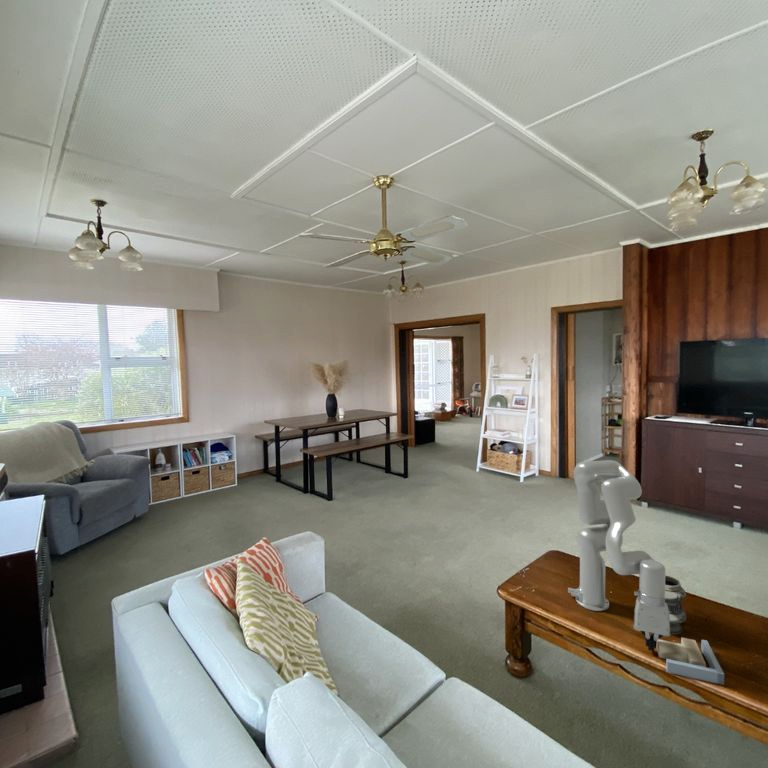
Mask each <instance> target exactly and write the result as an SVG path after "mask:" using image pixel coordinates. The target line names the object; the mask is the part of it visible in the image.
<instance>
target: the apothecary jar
mask: <svg viewBox="0 0 768 768" xmlns="http://www.w3.org/2000/svg"><path fill="white" fill-rule="evenodd" d="M686 597H687V593H686V590H685V589H684V588H683V587H682V583H681V582H680V580H679V579H677V578H674V577H672V576H669V575H666V574H665V602H666V604H667V606H668V610H669V620H670V635H679V634H681V633H682V632H683V628H682V626H681V625H680V624H683V623H685V622H686V620H687V613H686V612H685V610H684V608H683V601H684V600H686Z"/></svg>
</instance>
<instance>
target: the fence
mask: <svg viewBox="0 0 768 768" xmlns="http://www.w3.org/2000/svg"><path fill="white" fill-rule="evenodd" d="M700 644H701V646H700V651H701V653H702V655H703V657H704V658H705V660H706V663H707V664H708V667H707V666H706V667H702V666H698V665H693V664H688V663H684V662H679V661H675V660H670V659H665V661H666V662H665V666H666V667H665V670H666V672H667V673H669V674H673V675H678V676H680V677H681V676H682V677H686V678H691V679H695V680H699V681H704V682H709V683H713V684H717V685H723V686H725V673H724V670H723V668H722V667H721V665H720V663H719V661H718V659H717V658H716V656H715V653H714V651H713V650H712V647H711V646H710V644H709V641H708V640H705V639H701V643H700Z"/></svg>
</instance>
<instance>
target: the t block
mask: <svg viewBox="0 0 768 768" xmlns="http://www.w3.org/2000/svg"><path fill="white" fill-rule="evenodd" d="M680 639H681V640H680V643H678V642H673V641H668V640H665V639H660V638H659V639H658V640H657V641H656V652H657V655H658V658H660V659H664V660H666V659H670V660H675V661H679V662H684V663H688V664H693V665H698V666H702V667H707V666H706V665H707V664H706V663H707V662H706V661H705V659H704V655H703V653H702V651H701V649H700V647H699V646H698V642H697V641H696V639H692V638H691V639H690V638H687V637H681V638H680Z"/></svg>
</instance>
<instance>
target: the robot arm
mask: <svg viewBox="0 0 768 768" xmlns="http://www.w3.org/2000/svg"><path fill="white" fill-rule="evenodd" d="M573 480H574V483H575V487H576V491H577V500H578V501H577V503H578V513H579V517H580V518H579V519H580V521H581V522H582V523H583V524H585V525H587V526H588V525H589V526H593V527H586V528H583V529H581V530H580V531H579V532H578V533H577V536H576V537H577V538H576V539H577V543H578V548H579V586H578V588H572V587H567V593H569V594H571V596H573V597H575V602H577V604H578V605H579V606H581V607H583V608H584V609H587V610H590V611H595V612H604V611H606V610H608V609H609V608H610V601H609V600H608V599H607V598H606V561H605V559H604V557H603V556H602V555H601V553H603V552H606V554H607V558H608V561H609V564H610V566H611V568H612V570H613V571H614V572H615V573H616V574H618V575H620V576H630V575H639V578H638V579H639V580H638V581H639V583H638V586H639V587H638V590H635V591H634V596H637V597H636V600H635V603H634V611H633V612H634V614H633V621H634V622H633V627H632V628H633V630H635V631H637V632H640V633H641V634H642V635H643V636H644V637H645V646H646V647H647V649H648V651H651V652H655V649H657V640H658V639H660V638H662V637H670V636H671V634H670V620H669V610H668V606H667V604H666V602H665V575H666V567H665V565H663V564H662V562H660V561H657V560H655V559H654V558H653V557H652V556H651V555H650V554H649V553H647V552H646V551H644V550H632V551H622V546H623V542H624V541H623V539H624V538H623V534H624V532H625V531H626V530H627V529H628V528H630V526H632V525H634V523H636V520H637V519H636V516H635V513H634V510H633V509H634V508H633V507H632V504H631V500H637V499H639V498H640V497H642V493H643V492H642V491H643V489H642V486H641V484H640V482H639V480H638V479H637V478H636V477H635V476H634V474H632V473H631V472H630V471H629V470H628V469H626V467H624V466H623V465H622V464H621V463H620V462H618V461H617V460H611V459H606V460H591V461H584V462H580V463H577V465H575V467H574V469H573ZM596 483H601V486H600V488H601V489H599V487H598V486H597V485H596ZM600 490H601V492H600ZM601 493H602V497H603V499H601ZM594 525H595V526H594ZM596 525H597V526H596ZM598 525H603V526H598ZM650 634H651V635H650Z"/></svg>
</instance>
